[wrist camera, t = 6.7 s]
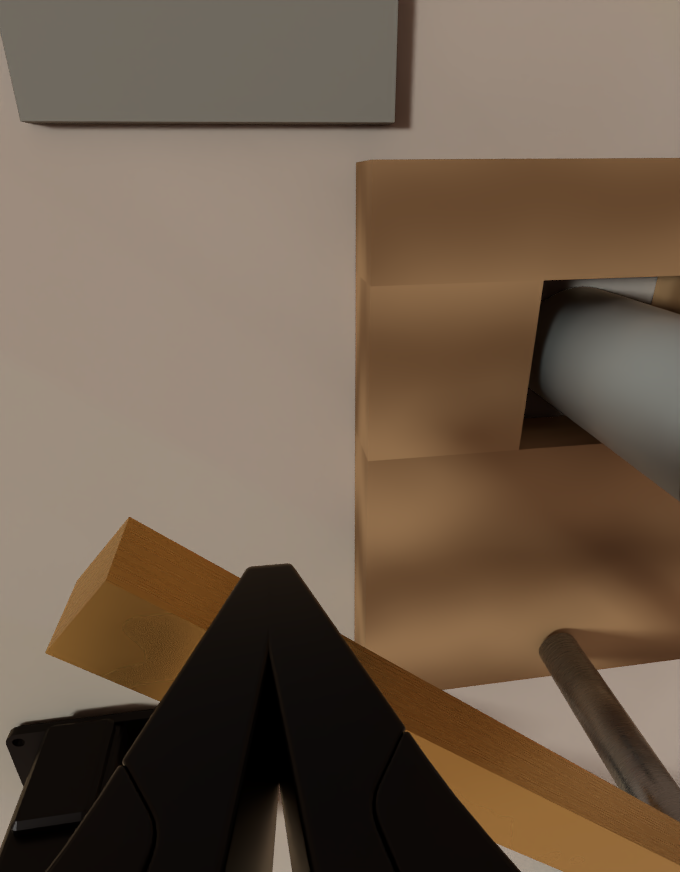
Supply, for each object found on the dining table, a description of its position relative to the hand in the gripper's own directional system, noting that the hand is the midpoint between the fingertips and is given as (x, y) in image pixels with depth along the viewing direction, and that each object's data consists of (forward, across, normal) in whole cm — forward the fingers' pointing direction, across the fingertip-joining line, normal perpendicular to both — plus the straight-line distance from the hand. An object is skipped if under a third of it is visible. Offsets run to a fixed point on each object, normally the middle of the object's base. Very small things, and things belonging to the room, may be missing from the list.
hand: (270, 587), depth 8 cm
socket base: (+12, -11, +4) cm, 17 cm away
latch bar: (+9, -4, +6) cm, 12 cm away
